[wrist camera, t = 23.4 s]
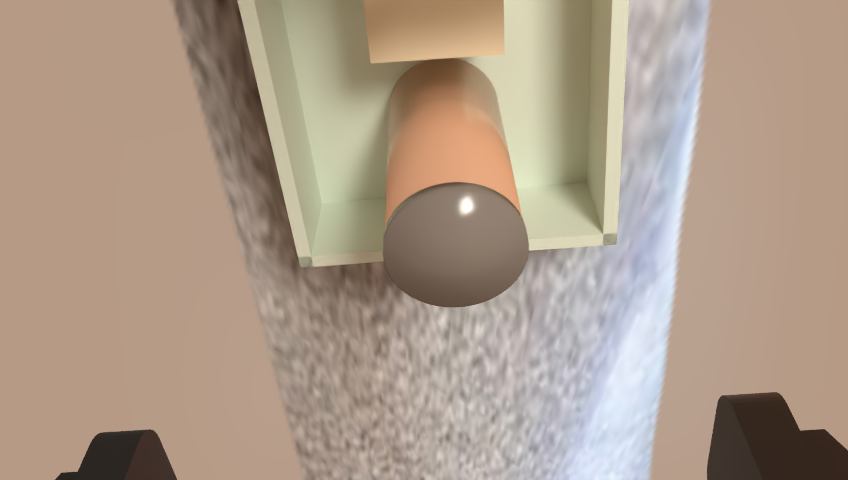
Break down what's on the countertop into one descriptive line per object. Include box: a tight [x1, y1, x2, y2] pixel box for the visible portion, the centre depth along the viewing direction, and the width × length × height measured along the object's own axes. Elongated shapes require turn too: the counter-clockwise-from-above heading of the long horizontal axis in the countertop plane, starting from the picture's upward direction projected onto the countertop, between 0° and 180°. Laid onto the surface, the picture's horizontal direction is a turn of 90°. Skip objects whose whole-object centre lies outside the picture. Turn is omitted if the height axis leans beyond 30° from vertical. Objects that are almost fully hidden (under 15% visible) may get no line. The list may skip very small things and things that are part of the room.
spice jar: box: [383, 58, 529, 307], centre depth 32 cm, size 5×5×11 cm
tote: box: [237, 0, 629, 268], centre depth 33 cm, size 17×14×5 cm
